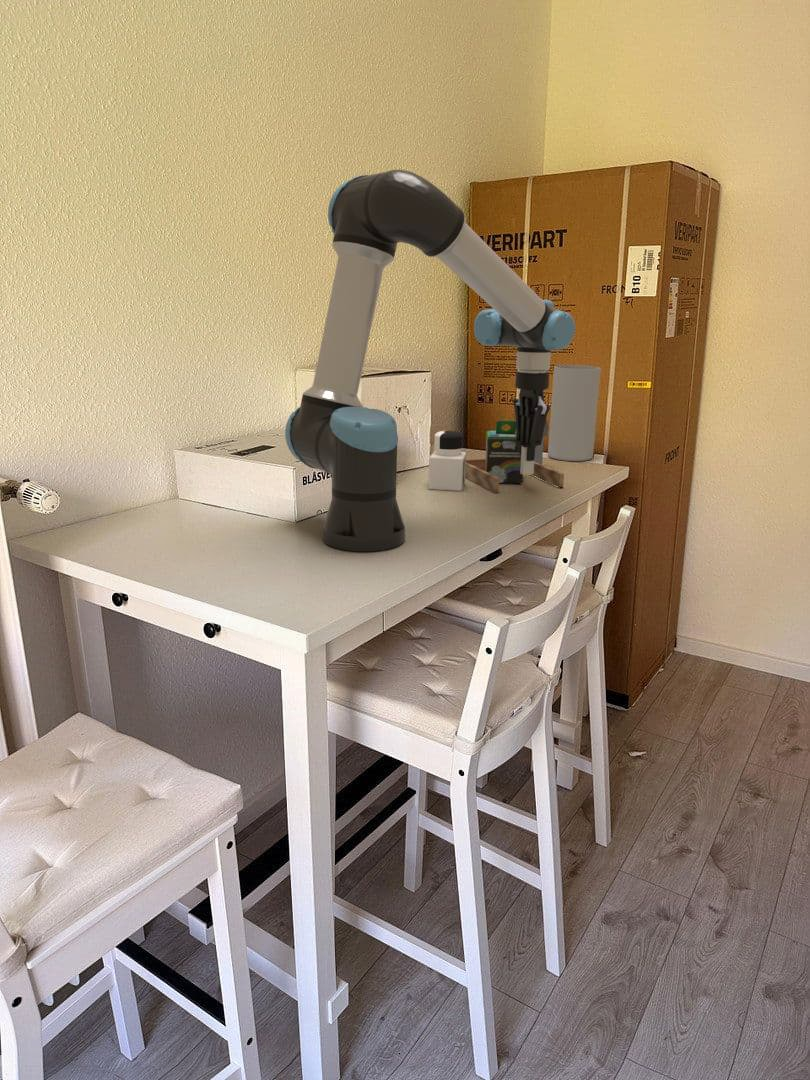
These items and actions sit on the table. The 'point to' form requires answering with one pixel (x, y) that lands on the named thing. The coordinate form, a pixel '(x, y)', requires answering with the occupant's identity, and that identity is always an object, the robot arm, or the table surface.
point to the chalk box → (504, 453)
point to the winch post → (540, 446)
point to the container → (447, 462)
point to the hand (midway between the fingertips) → (526, 473)
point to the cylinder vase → (573, 412)
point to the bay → (491, 482)
